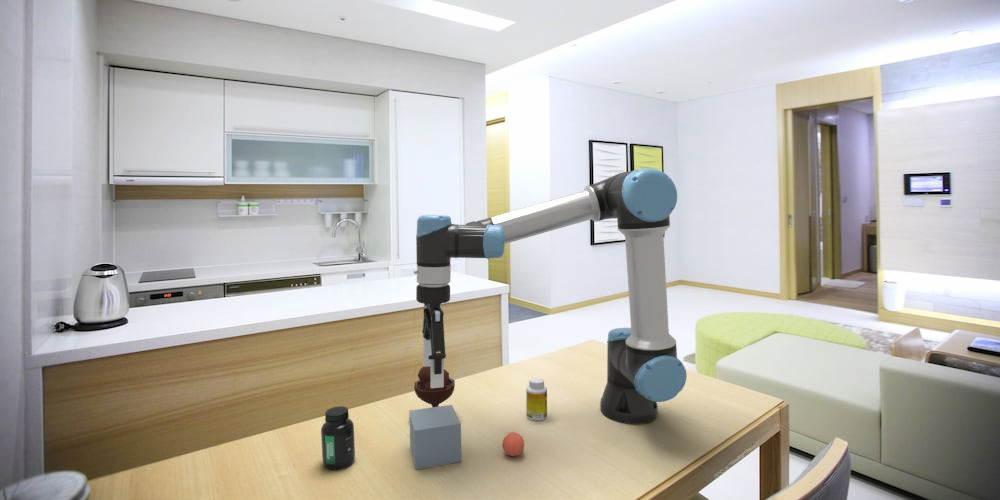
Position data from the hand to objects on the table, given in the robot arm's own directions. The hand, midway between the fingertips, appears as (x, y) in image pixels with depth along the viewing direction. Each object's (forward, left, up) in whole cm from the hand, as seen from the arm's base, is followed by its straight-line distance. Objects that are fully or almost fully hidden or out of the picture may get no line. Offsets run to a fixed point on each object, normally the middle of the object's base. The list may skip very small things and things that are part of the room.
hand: (432, 376), depth 106 cm
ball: (-17, +7, -16) cm, 24 cm away
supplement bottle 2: (-29, -9, -18) cm, 35 cm away
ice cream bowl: (-3, -17, -18) cm, 25 cm away
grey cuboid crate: (0, +1, -18) cm, 18 cm away
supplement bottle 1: (+21, -2, -18) cm, 28 cm away
